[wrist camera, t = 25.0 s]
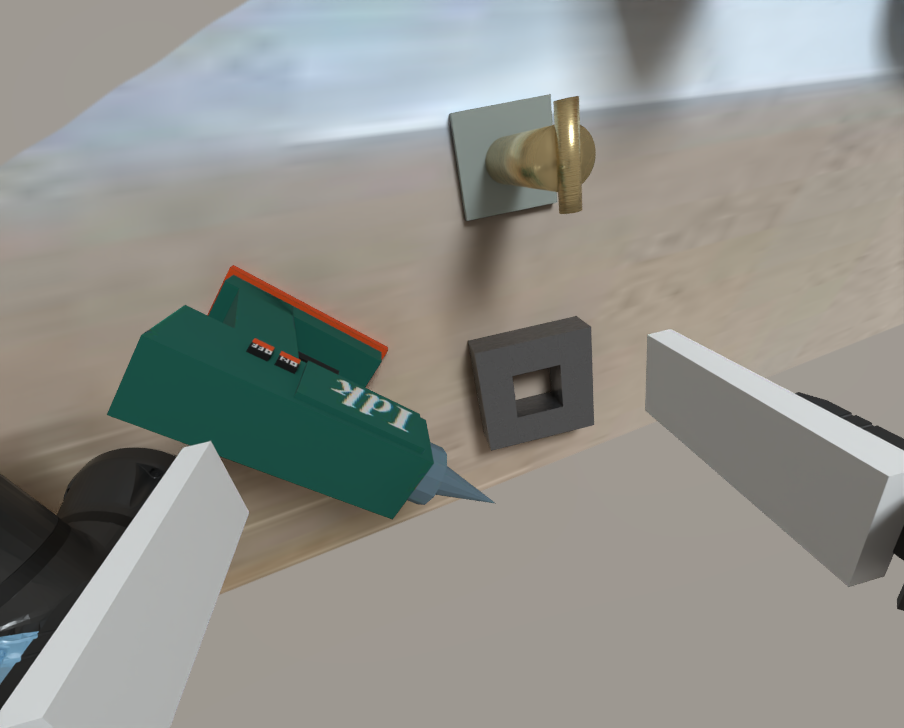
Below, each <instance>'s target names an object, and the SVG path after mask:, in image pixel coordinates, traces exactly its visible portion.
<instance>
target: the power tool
mask: <svg viewBox="0 0 904 728" xmlns="http://www.w3.org/2000/svg"><path fill="white" fill-rule="evenodd" d="M387 351H388V347H387V346H385V345H383V344H381V343H379V342H377V341H375V340H373V339H372V338H370V337H368V336H366V335H364V334H362V333H360V332H358V331H357V330H355V329H353V328H351V327H349V326H347V325H345V324H343V323H341V322H340V321H338V320H336V319H334V318H332V317H330V316H328V315H326V314H325V313H323V312H321V311H319V310H317V309H315V308H313V307H311V306H310V305H308V304H306V303H304V302H302V301H300V300H298V299H296V298H294V297H293V296H291V295H289V294H287V293H285V292H283V291H281V290H279V289H278V288H276V287H274V286H272V285H270V284H268V283H266V282H264V281H262V280H261V279H259V278H257V277H255V276H253V275H251V274H249V273H247V272H246V271H244V270H242V269H240V268H238V267H236V266H234V265H233V266H231V267H230V269H229V271H228V273H227V275H226V277H225V279H224V281H223V284H222V286H221V288H220V290H219V292H218V294H217V296H216V298H215V300H214V302H213V304H212V307H211V309H210V311H209V313H208V315H205V314H203V313H201V312H199V311H197V310H195V309H193V308H190V307H188V306H186V305H184V306H183V307H181V308H180V309H178V310H177V311H175V312H174V313H173V314H171V315H170V316H168V317H167V318H165V319H164V320H162V321H161V322H160V323H158V324H157V325H155V326H154V327H152V328H151V329H149V330H148V331H146V332H145V333H144V334H142V335H141V337H140V339H139V342H138V344H137V346H136V348H135V351H134V353H133V355H132V358H131V360H130V362H129V365H128V367H127V369H126V372H125V374H124V376H123V379H122V381H121V383H120V386H119V388H118V390H117V392H116V395H115V397H114V399H113V402H112V404H111V406H110V409H109V411H108V413H107V415H109V416H111V417H114V418H117V419H120V420H122V421H125V422H128V423H131V424H133V425H136V426H139V427H141V428H144V429H147V430H150V431H152V432H155V433H158V434H161V435H163V436H166V437H169V438H171V439H174V440H177V441H180V442H182V443H185V444H188V445H191V446H192V445H196V444H201V443H205V442H209V441H211V442H212V444H213V446H214V448H215V449H216V451H217V453H218V455H219V456H221V457H223V458H226V459H229V460H232V461H234V462H237V463H240V464H242V465H245V466H248V467H251V468H253V469H256V470H259V471H262V472H264V473H267V474H270V475H273V476H275V477H278V478H281V479H283V480H286V481H289V482H292V483H294V484H297V485H300V486H303V487H305V488H308V489H311V490H314V491H316V492H319V493H322V494H324V495H327V496H330V497H333V498H335V499H338V500H341V501H344V502H346V503H349V504H352V505H354V506H357V507H360V508H363V509H365V510H368V511H371V512H374V513H376V514H379V515H382V516H385V517H387V518H390V519H393V518H394V517H395V516H396V514H397V513H398V511H399V510H400V509H401V507H402V506H403V505H404V503H405V502H406V501H407V500H408V501H411V502H413V503H416V504H423V505H425V504H426V503H427V502H428V501H430V500H431V499H432V498H433V497H434V496H435V495H442V496H449V497H455V498H462V499H469V500H476V501H483V502H490V503H494V502H493V501H492V500H491V499H489V498H488V497H487V496H485V495H484V494H482V492H480V491H479V490H478V489H476V488H475V487H474V486H472V485H471V484H470V483H468V482H467V481H466V480H465V479H463V478H462V477H461V476H459V475H458V474H457V473H455V472H454V471H453V470H452V469H450V468H449V467H448V466H447V454H446V452H445V451H444V449H443V448H442V447H439V446H437V445H435V444H433V443H431V442H430V439H429V434H428V429H427V424H426V420H425V419H422V418H420V414H419V413H416V412H414V411H412V410H410V409H408V408H406V407H404V406H402V405H400V404H398V403H396V402H394V401H392V400H389V399H387V398H385V397H383V396H381V395H379V394H377V393H375V392H373V391H371V390H369V389H367V388H365V387H366V385H367V384H368V382H369V381H370V379H371V378H372V376H373V374H374V373H375V371H376V370H377V368H378V367H379V365H380V363H381V362H382V359H383V357H384V356H385V354H386V353H387Z"/></svg>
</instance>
